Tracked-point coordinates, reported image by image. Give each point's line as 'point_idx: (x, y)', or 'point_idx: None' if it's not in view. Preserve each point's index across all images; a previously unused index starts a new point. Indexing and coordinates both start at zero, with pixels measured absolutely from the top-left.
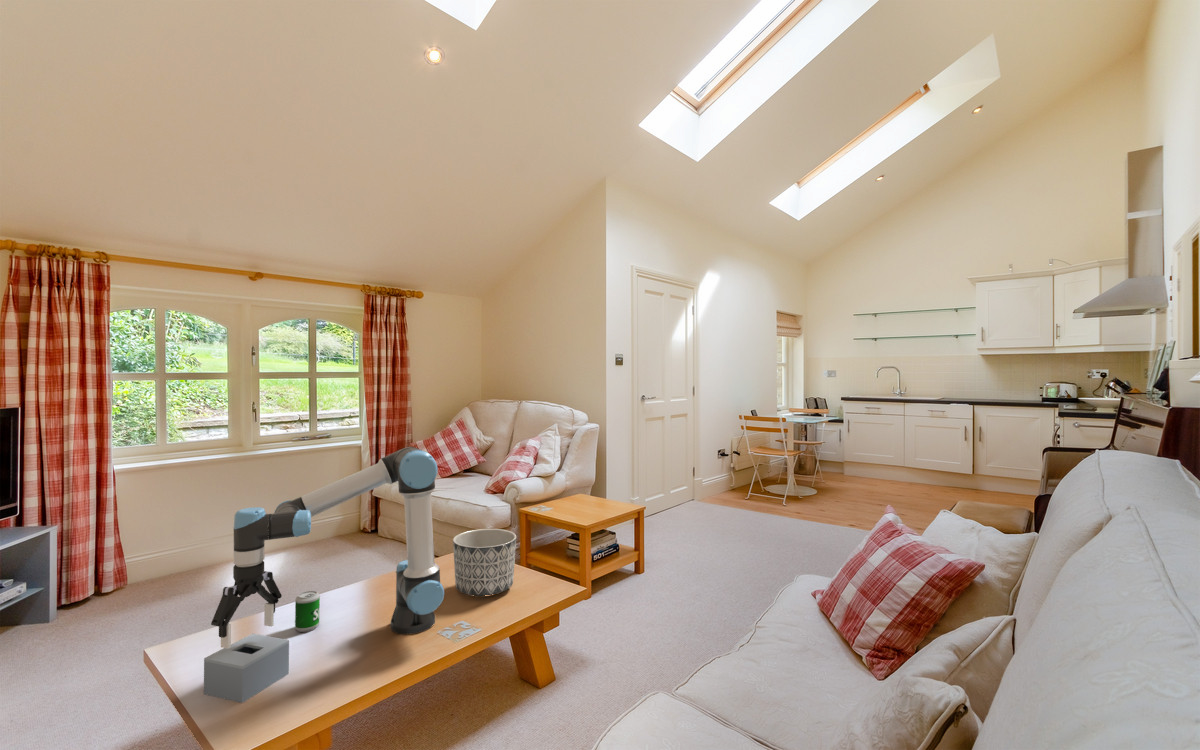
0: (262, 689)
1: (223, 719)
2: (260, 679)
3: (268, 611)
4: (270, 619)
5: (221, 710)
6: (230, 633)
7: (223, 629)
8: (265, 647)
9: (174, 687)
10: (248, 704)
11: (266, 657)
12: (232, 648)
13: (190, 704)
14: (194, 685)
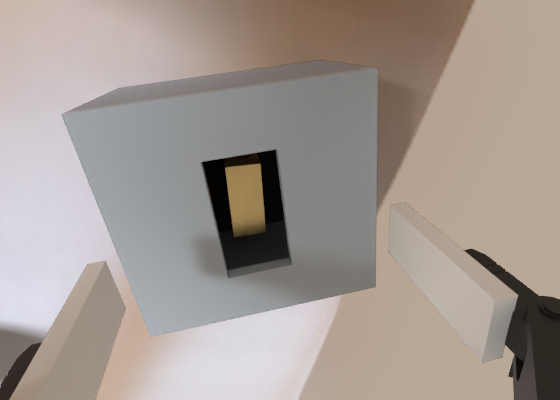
0: (240, 71)
1: (402, 24)
2: (254, 73)
3: (78, 367)
4: (92, 300)
5: None
6: (443, 251)
7: (516, 286)
8: (196, 156)
9: (335, 305)
10: (317, 29)
11: (229, 86)
12: (280, 276)
13: None
14: None
